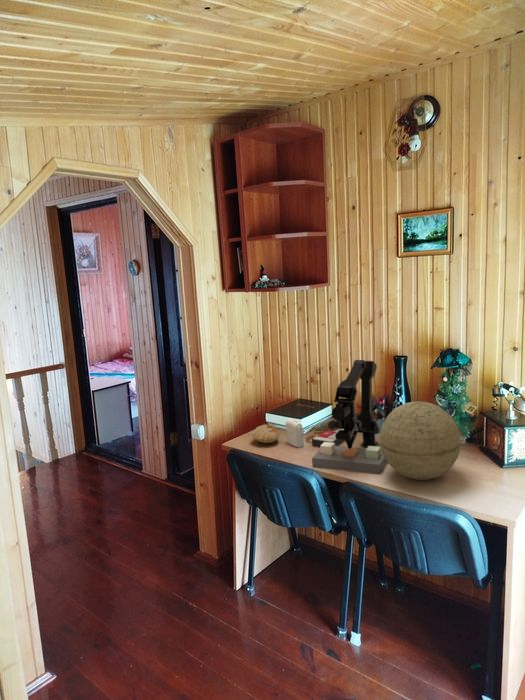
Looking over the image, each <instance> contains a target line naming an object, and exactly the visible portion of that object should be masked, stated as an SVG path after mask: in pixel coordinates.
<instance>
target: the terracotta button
mask: <svg viewBox="0 0 525 700" xmlns="http://www.w3.org/2000/svg"><path fill="white" fill-rule="evenodd" d="M357 454H358V449H353V448H351V449H349V448H346V449H345V450H344V451H343V456H345V457H356V456H357Z"/></svg>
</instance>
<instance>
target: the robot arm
mask: <svg viewBox="0 0 525 700" xmlns="http://www.w3.org/2000/svg"><path fill="white" fill-rule="evenodd" d="M376 372H377V364H376V363H375V362H374V360H365V359H356V360H353V365H352V367H351V369H350V371H349V373H348V375H347V377H346V379H344V380H342V381H341V382H340V383H339V385H338V386H337V388H336V391H335V397H334V401H333V402H334V403H335V407H334V408H332V410H331V416H332V418H333V419H332V420H329V422H328V424H327V426H328V427H327V428H328V429H330V431H333V430H336V429H338V428H339V430H338V431H336V432H337V433H336V434H335V437H336V439H341V440H345V441H344V442H346V445H347V446H346V447H348V448H349V449H351V448H352V447H353V445H354V442H355V440H356V437H357V435H358V433H361V434H362V443H360V447H366V448H368V446H377V444H378V441H376V434H379V433H380V426H379V424H378V423H377V421H376V420H377V419H376V415H375V414H374V412H373V390H372V389H373V379H374V377H375V376H376ZM360 380H361V381H360ZM359 381H360V382H361V383H360V385H361V388H360V389H361V395H360V396H361V400H360V403H361V411H360V413H359V415H357V414H356V412H355V401H356V398H357V394H358V389H357V385H358V382H359ZM356 417H357V418H356ZM356 428H357V430H356Z"/></svg>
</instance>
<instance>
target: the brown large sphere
mask: <svg viewBox="0 0 525 700" xmlns="http://www.w3.org/2000/svg"><path fill="white" fill-rule="evenodd" d="M379 433H380V434H379V445H380V447H381V450H382V452H383V455H384V457H385V459H386V460H387V464H388V465H389V466H391V468H392V469H393V470H394V471H395V472H396V473H399V474H400V475H402V476H403V477H406V478H409V479H413V480H418V481H427V480H433V479H437V478H439V477H441V476H442V475H444V474H446V473H448V471H450V469H451V468H452V467H453V466H454V465H455V463H456V462H457V459H458V457H459V455H460V452H461V444H462V443H461V441H462V440H461V439H462V438H461V433H460V431H459V428H458V426H457V424H456V422H455V420H454V419H453V417H452V416H451V415H450V414H449V413H448V412H447V411H446V410H444V409H443V408H442V407H440V406H439V405H436V404H433V403H431V402H427V401H411V402H406V403H404V404H401V405H399V406H397V407H396V408H394V409H393V410H392V411H391V412H389V414H388V415H387V416H386V418H385V419H384V422H383V423H382V425H381V428H380V431H379Z"/></svg>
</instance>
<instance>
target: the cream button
mask: <svg viewBox="0 0 525 700" xmlns="http://www.w3.org/2000/svg"><path fill="white" fill-rule="evenodd" d="M320 449H321V454H325V455H333V454H334V453H335V443H330V442H324V443H323V444H322V445H321V446H320V448H319V450H320Z"/></svg>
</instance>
